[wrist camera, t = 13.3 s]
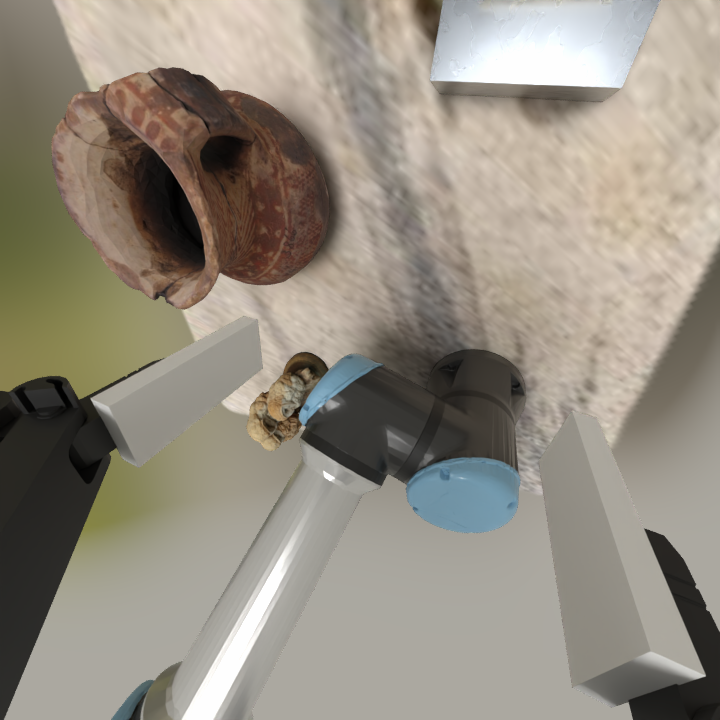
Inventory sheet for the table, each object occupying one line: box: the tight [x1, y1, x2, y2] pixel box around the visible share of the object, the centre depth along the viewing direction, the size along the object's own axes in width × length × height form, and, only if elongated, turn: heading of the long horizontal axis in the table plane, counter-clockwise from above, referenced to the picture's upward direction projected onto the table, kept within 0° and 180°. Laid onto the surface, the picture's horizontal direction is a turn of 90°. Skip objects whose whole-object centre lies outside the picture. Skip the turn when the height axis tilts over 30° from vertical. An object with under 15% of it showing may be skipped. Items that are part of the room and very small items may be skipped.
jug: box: [52, 67, 329, 309], centre depth 36 cm, size 22×21×25 cm
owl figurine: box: [246, 352, 329, 451], centre depth 58 cm, size 18×12×17 cm, turn 168°
